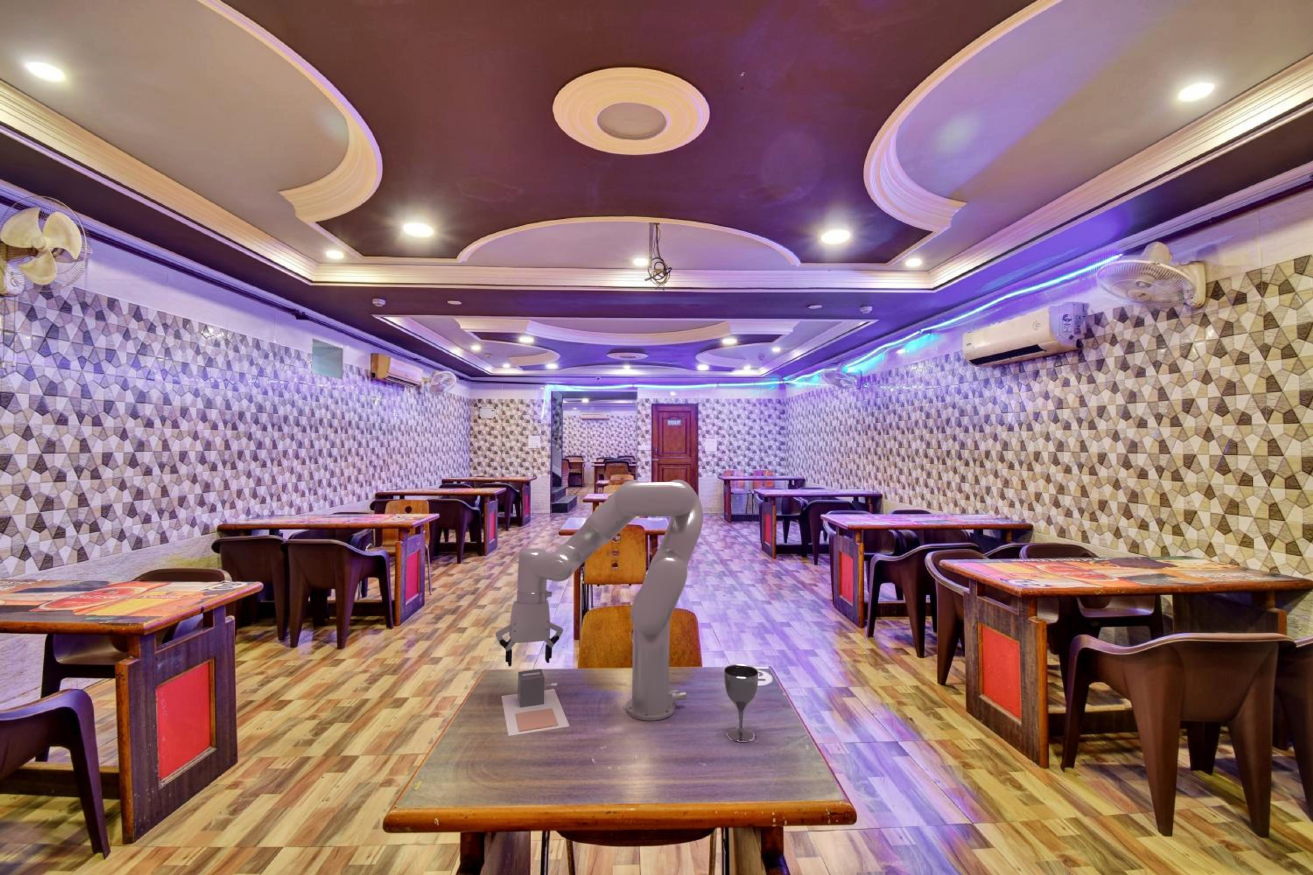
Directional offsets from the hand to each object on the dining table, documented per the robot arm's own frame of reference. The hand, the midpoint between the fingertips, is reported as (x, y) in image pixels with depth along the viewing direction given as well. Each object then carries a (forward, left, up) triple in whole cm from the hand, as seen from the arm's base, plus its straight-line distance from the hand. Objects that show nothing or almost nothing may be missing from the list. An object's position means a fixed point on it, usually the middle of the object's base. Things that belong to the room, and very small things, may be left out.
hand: (528, 662), depth 145 cm
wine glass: (-46, +31, -12) cm, 56 cm away
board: (-1, +6, -11) cm, 13 cm away
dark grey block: (-1, 0, -10) cm, 10 cm away
